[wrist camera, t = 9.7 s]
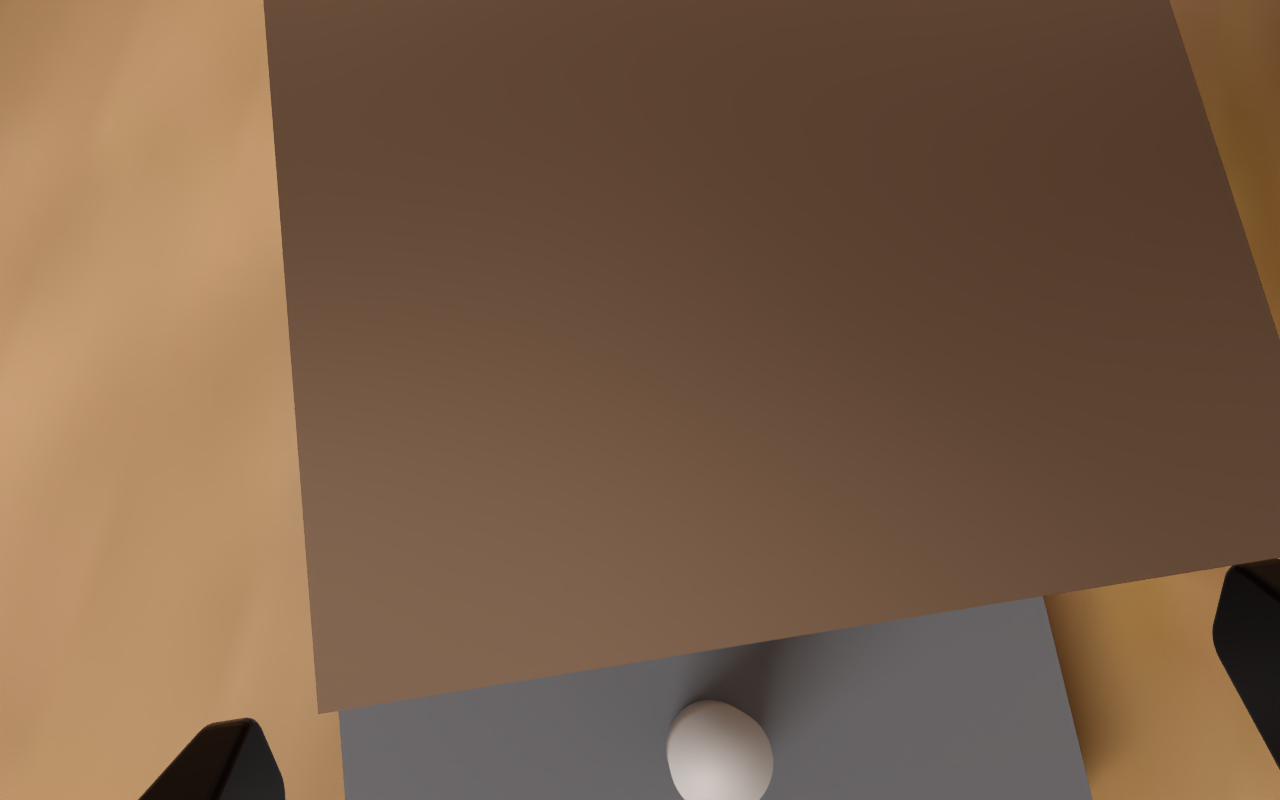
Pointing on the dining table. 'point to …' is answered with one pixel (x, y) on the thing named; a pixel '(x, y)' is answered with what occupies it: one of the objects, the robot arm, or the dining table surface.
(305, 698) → the dining table surface
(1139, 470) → the walnut post
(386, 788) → the peg nest
